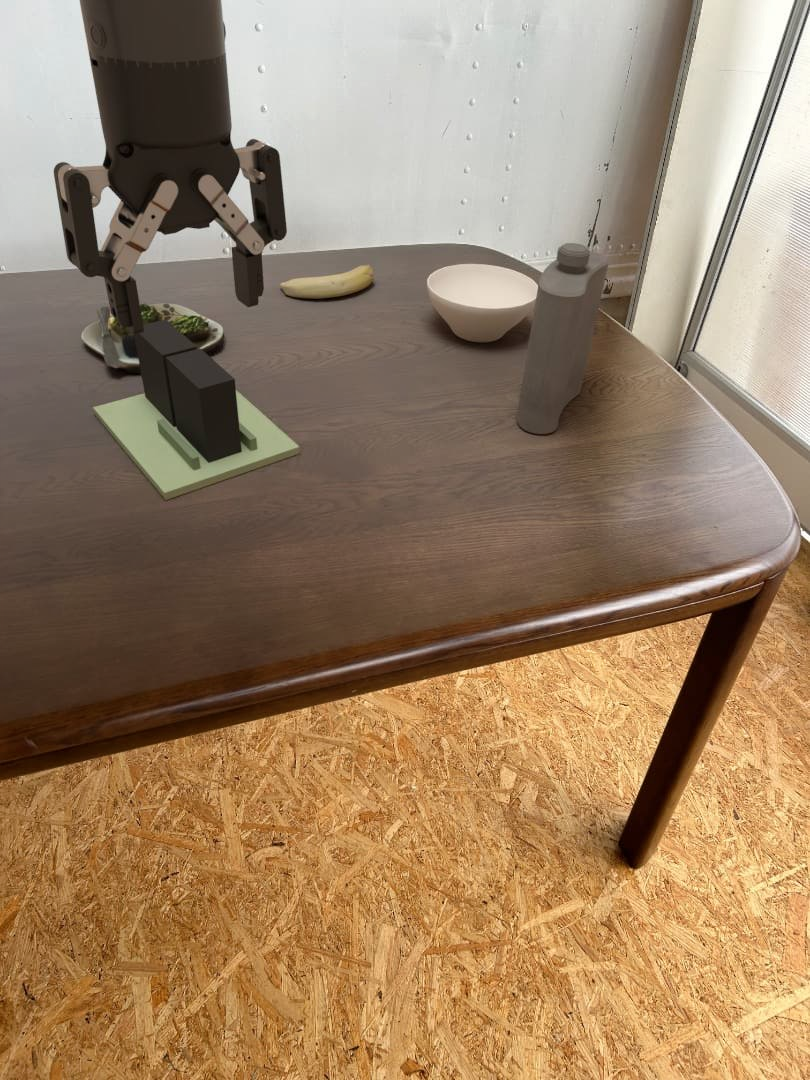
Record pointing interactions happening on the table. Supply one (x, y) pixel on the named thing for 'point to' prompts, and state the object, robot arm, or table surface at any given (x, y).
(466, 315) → the bowl
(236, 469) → the dock mat
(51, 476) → the table surface
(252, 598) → the table surface
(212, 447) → the tall dark upright box
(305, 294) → the fruit
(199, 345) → the salad plate
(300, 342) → the table surface
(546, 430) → the flask
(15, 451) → the table surface
